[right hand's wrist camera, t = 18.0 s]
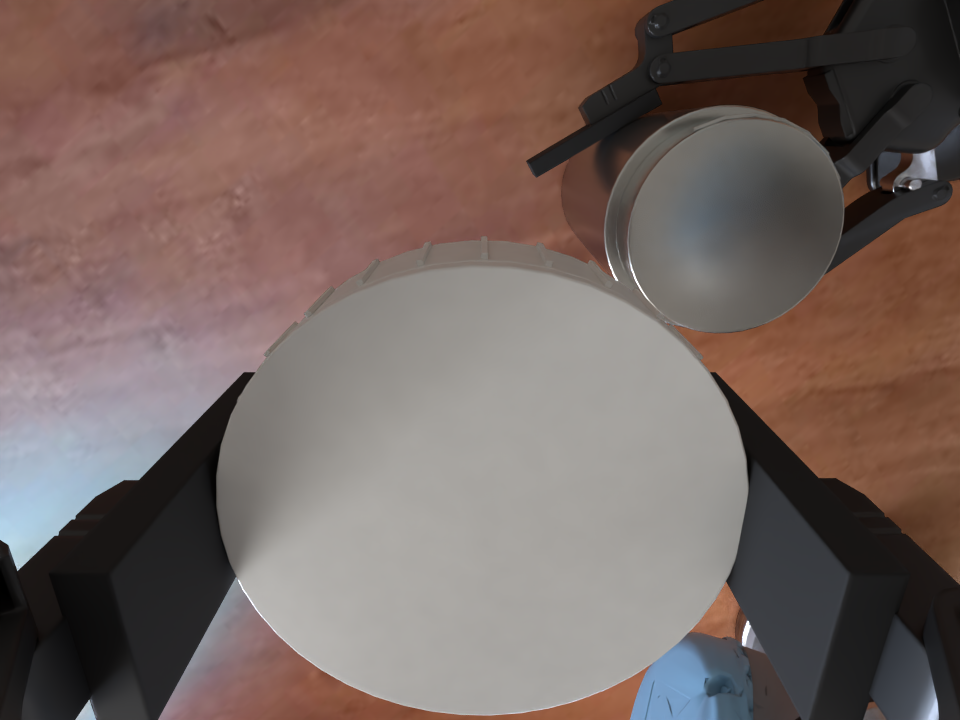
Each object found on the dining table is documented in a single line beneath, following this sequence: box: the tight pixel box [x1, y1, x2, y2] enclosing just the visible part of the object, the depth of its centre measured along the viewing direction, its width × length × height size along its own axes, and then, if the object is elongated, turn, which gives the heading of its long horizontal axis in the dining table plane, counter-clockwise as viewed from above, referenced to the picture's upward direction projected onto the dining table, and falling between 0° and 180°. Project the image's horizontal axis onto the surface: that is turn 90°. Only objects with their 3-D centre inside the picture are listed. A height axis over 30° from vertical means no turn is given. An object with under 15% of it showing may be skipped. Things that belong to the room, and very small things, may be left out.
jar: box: [561, 105, 844, 333], centre depth 28 cm, size 8×8×17 cm
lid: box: [216, 236, 749, 715], centre depth 11 cm, size 9×9×2 cm
